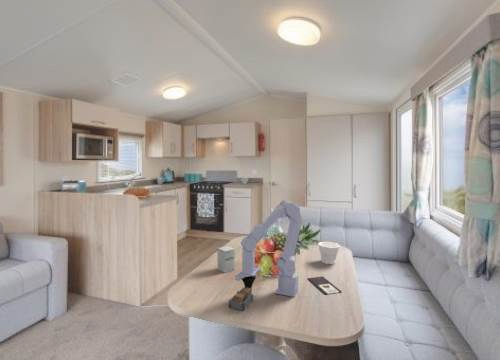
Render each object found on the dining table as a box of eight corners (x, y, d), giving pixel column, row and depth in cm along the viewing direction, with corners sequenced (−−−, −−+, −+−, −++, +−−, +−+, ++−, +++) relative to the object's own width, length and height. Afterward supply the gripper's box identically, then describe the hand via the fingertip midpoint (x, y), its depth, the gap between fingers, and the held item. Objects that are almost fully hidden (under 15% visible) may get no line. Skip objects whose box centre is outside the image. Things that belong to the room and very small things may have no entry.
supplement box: (224, 273, 160) (224, 251, 159) (217, 269, 166) (217, 247, 165) (235, 270, 165) (235, 248, 164) (227, 266, 171) (227, 245, 170)
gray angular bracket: (253, 300, 130) (253, 294, 129) (245, 311, 121) (245, 304, 120) (237, 297, 133) (237, 291, 133) (227, 307, 124) (227, 300, 124)
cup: (336, 267, 170) (336, 248, 169) (315, 263, 176) (316, 245, 175) (340, 260, 181) (341, 243, 180) (321, 257, 187) (321, 240, 186)
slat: (244, 296, 133) (245, 286, 133) (251, 298, 131) (251, 288, 131) (233, 306, 124) (233, 295, 124) (240, 309, 123) (240, 297, 122)
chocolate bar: (322, 276, 155) (341, 291, 138) (322, 278, 155) (341, 293, 138) (307, 278, 153) (324, 293, 136) (307, 279, 153) (324, 295, 136)
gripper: (242, 269, 125) (242, 299, 126) (265, 261, 135) (265, 288, 136) (232, 264, 130) (232, 293, 131) (254, 257, 140) (254, 284, 141)
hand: (248, 290), depth 134 cm, fingers closed
